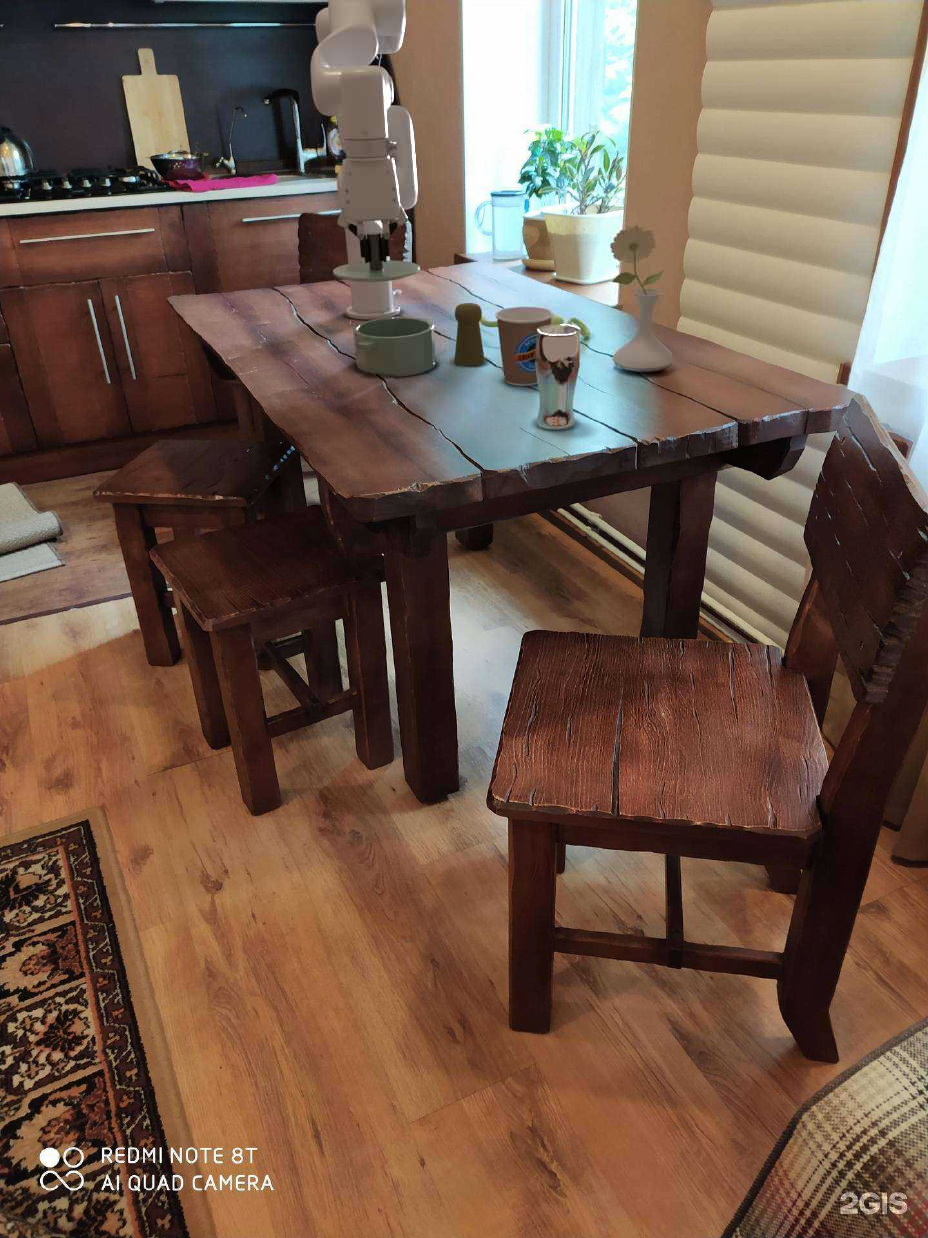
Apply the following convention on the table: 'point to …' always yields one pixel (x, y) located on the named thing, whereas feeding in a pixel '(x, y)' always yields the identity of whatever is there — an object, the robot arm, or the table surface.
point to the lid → (376, 265)
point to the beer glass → (557, 374)
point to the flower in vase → (640, 304)
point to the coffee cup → (520, 342)
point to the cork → (468, 335)
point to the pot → (395, 346)
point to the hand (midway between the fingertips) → (375, 260)
